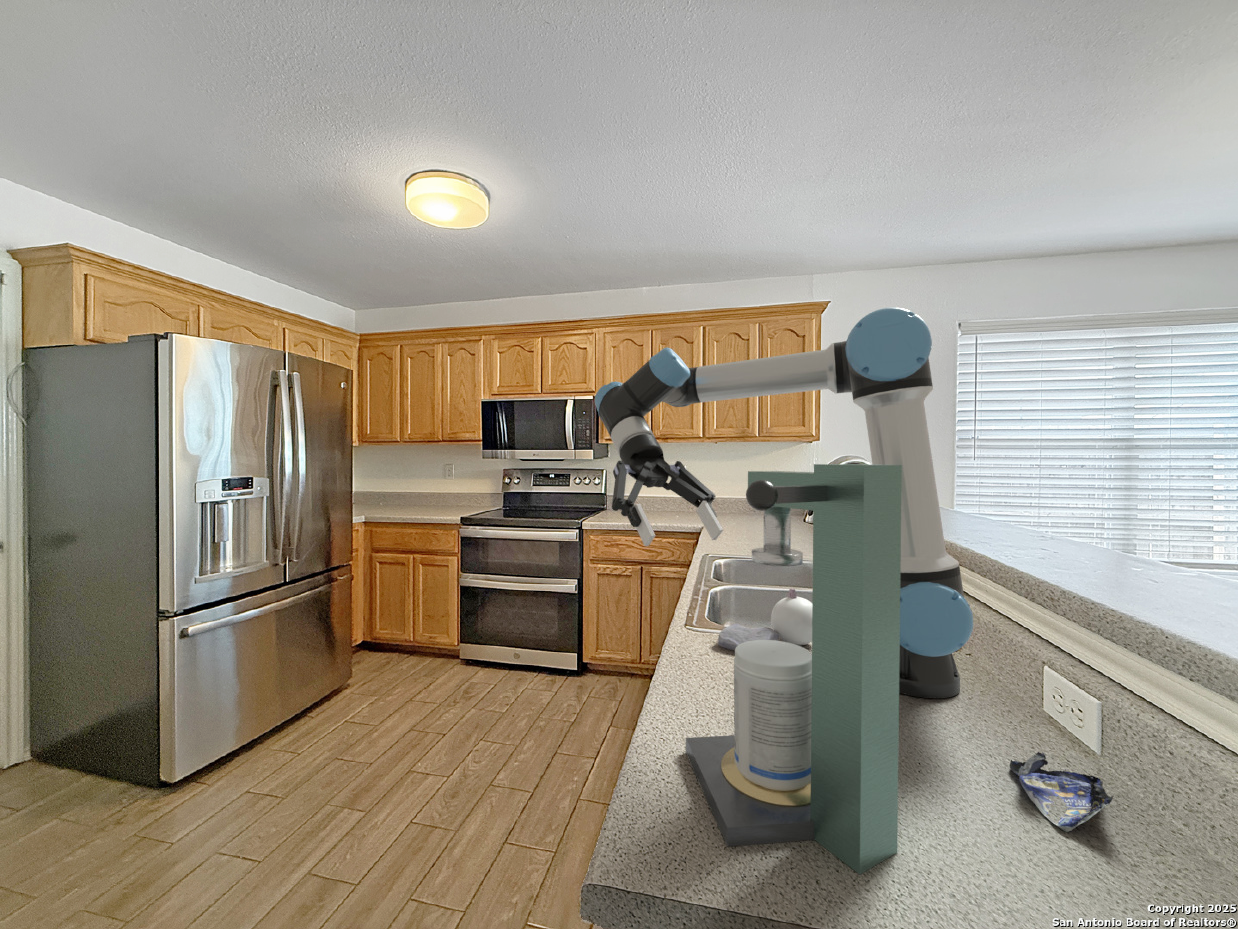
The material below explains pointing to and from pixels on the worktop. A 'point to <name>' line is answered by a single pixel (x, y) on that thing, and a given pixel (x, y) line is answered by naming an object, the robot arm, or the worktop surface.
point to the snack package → (1061, 790)
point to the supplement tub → (773, 713)
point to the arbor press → (830, 670)
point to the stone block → (744, 635)
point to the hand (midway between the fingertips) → (685, 538)
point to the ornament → (793, 619)
